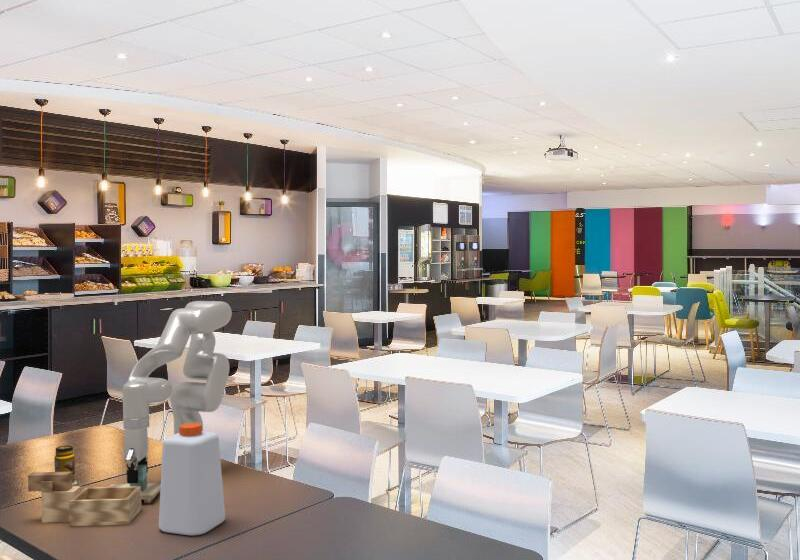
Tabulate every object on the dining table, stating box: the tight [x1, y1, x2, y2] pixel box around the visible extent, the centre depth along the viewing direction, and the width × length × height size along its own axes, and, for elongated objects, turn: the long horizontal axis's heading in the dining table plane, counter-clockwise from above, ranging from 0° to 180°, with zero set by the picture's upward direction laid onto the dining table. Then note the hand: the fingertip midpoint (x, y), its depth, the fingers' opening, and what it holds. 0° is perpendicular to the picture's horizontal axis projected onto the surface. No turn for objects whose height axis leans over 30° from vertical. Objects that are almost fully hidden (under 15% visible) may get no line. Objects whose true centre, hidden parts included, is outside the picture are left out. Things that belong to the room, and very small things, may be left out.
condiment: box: [54, 445, 78, 486], centre depth 243 cm, size 7×8×12 cm
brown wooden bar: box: [27, 471, 73, 492], centre depth 209 cm, size 11×3×4 cm, turn 93°
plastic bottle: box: [158, 423, 226, 537], centre depth 203 cm, size 15×15×28 cm
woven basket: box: [40, 481, 142, 527], centre depth 210 cm, size 25×12×12 cm, turn 93°
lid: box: [108, 464, 161, 504], centre depth 227 cm, size 16×12×10 cm
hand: (137, 478), depth 226 cm, fingers open, 9 cm apart
